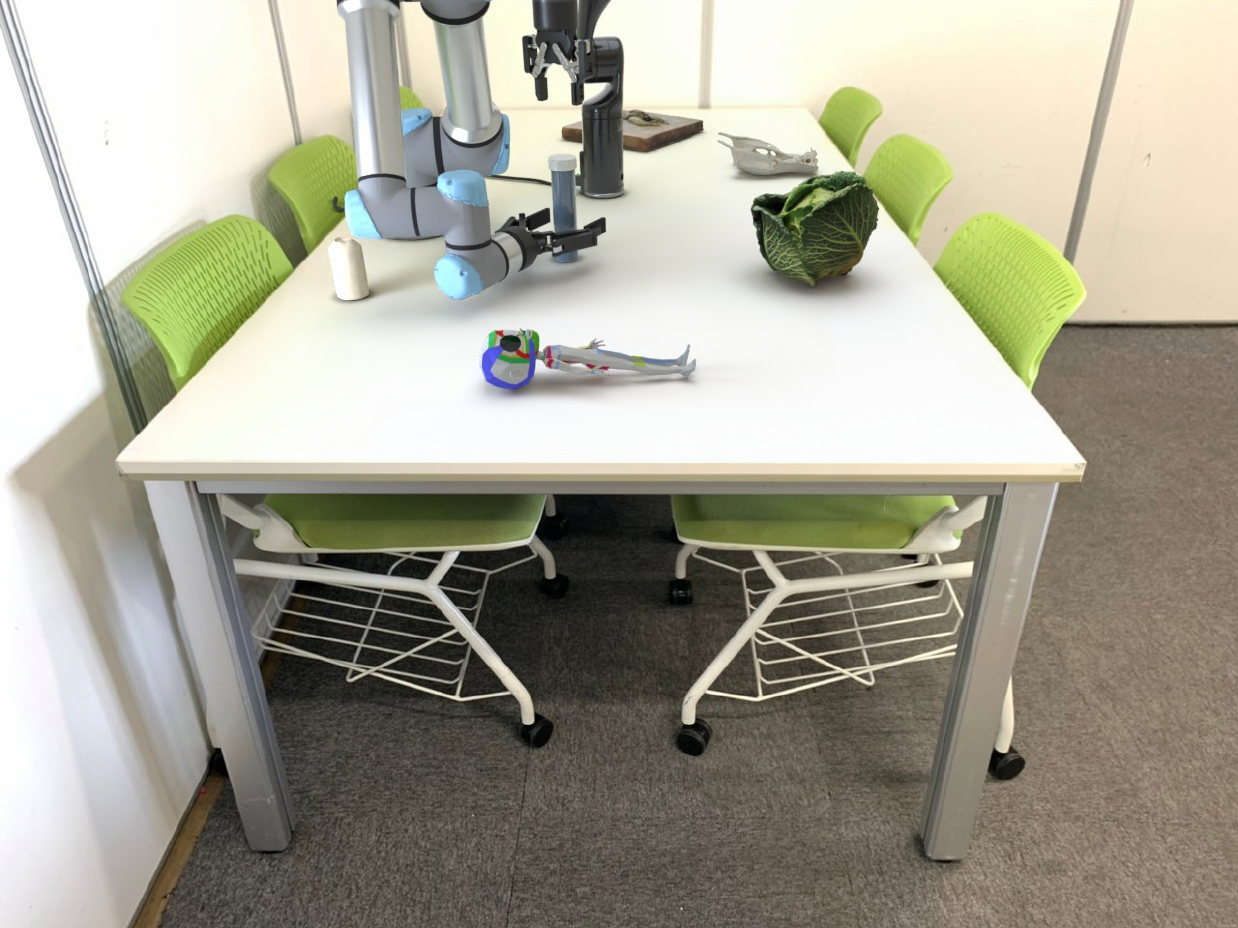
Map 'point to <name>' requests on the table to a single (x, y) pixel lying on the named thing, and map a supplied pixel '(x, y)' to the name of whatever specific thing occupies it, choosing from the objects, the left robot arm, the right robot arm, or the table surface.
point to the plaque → (645, 129)
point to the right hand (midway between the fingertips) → (559, 102)
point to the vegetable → (816, 226)
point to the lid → (562, 162)
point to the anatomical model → (767, 157)
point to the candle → (348, 269)
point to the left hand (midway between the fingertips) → (576, 219)
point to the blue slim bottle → (564, 207)
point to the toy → (561, 359)
